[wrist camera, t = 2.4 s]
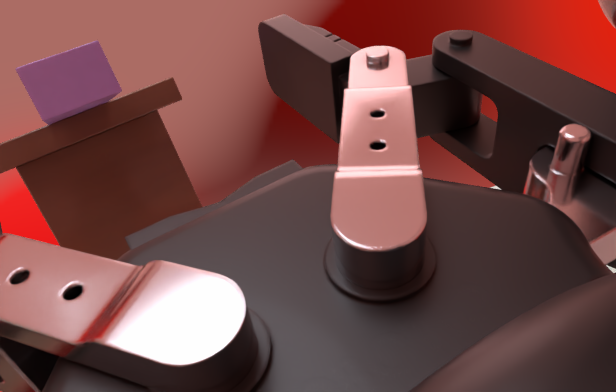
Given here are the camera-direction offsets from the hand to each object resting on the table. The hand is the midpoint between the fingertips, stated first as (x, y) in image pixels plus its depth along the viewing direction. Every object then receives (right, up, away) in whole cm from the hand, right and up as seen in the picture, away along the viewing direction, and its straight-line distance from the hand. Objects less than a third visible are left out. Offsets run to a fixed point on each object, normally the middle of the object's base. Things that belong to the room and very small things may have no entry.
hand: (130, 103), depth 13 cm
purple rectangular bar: (-9, +3, +18) cm, 20 cm away
